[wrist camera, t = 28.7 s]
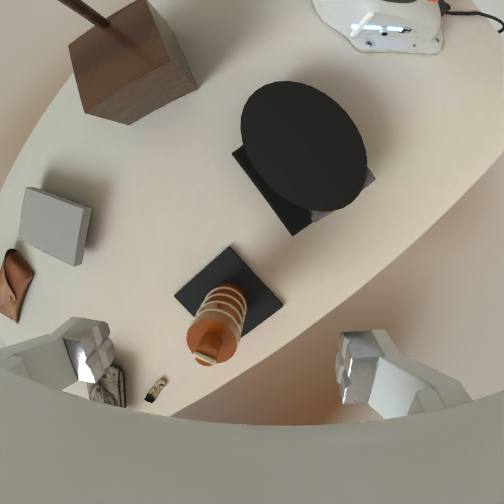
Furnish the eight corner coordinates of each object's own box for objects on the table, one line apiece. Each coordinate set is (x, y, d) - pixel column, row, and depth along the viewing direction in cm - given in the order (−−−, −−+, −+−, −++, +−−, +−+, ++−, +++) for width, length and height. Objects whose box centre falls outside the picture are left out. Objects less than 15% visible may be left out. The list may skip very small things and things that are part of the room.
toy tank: (125, 353, 49) (99, 385, 40) (127, 414, 54) (109, 444, 45) (90, 339, 50) (61, 367, 40) (97, 401, 55) (76, 428, 45)
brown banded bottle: (254, 292, 44) (243, 349, 29) (238, 326, 46) (222, 390, 31) (215, 275, 44) (185, 324, 29) (201, 310, 46) (169, 368, 31)
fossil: (152, 401, 53) (152, 404, 52) (144, 397, 52) (143, 400, 52) (167, 381, 51) (166, 384, 50) (158, 376, 50) (157, 379, 50)
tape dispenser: (301, 78, 38) (301, 57, 30) (377, 177, 39) (392, 175, 32) (221, 134, 41) (206, 124, 34) (295, 234, 42) (295, 243, 35)
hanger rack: (197, 89, 38) (24, -62, 3) (128, 125, 40) (-90, 86, 5) (173, 31, 36) (37, -110, 1) (109, 67, 38) (-65, -7, 3)
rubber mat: (229, 246, 43) (228, 247, 43) (283, 304, 45) (283, 306, 44) (174, 294, 46) (173, 296, 46) (226, 346, 48) (226, 348, 47)
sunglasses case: (18, 326, 52) (-6, 326, 46) (12, 303, 55) (-10, 302, 49) (34, 273, 48) (6, 270, 42) (29, 250, 50) (3, 246, 45)
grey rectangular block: (96, 207, 44) (38, 186, 44) (83, 209, 40) (25, 187, 40) (86, 261, 46) (31, 235, 46) (73, 266, 42) (18, 238, 42)
